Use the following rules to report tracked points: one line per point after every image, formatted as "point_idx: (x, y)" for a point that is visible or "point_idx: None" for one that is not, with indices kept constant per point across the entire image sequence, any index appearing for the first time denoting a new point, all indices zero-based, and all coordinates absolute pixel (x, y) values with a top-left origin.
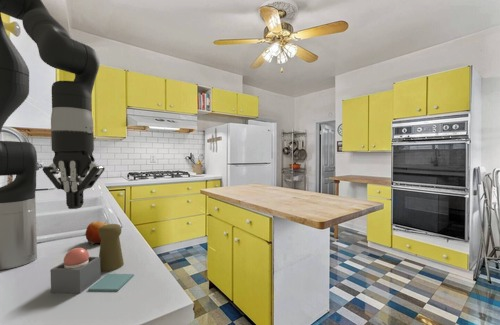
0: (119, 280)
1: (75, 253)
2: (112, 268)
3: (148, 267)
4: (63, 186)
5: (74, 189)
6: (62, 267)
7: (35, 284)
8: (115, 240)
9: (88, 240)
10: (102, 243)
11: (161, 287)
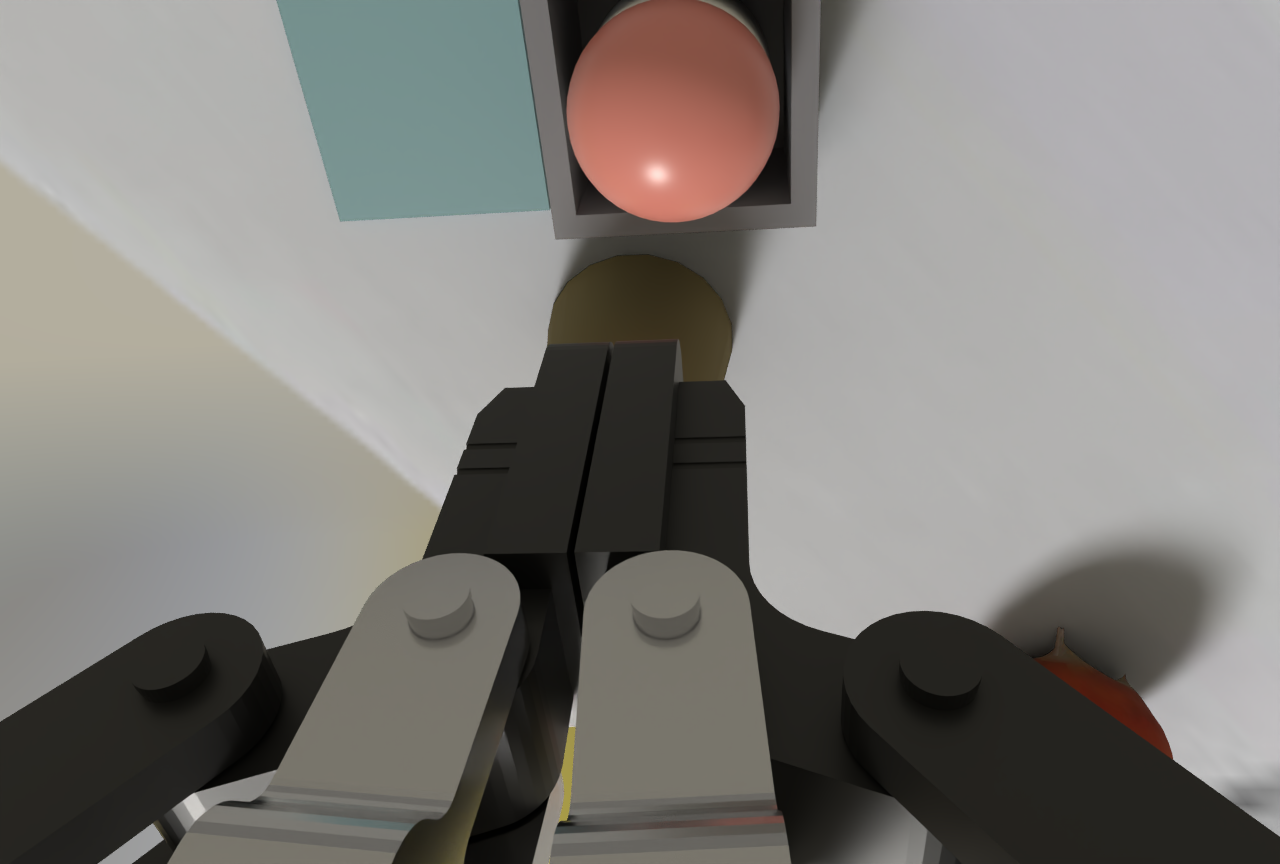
0: (370, 118)
1: (619, 74)
2: (573, 287)
3: (336, 339)
4: (838, 724)
5: (408, 593)
6: (789, 45)
7: (1061, 15)
8: None
9: (1114, 680)
10: None
11: (10, 74)
